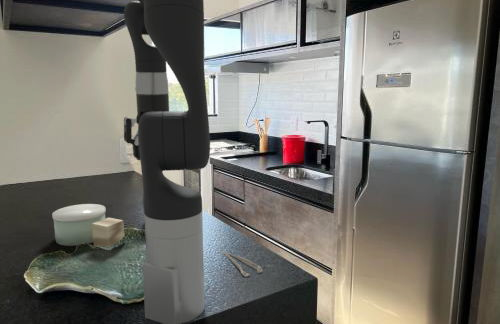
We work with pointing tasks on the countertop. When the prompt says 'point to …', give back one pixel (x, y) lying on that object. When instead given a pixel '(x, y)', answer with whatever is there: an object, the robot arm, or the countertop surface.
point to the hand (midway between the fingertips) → (155, 157)
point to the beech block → (107, 232)
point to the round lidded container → (76, 223)
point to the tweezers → (243, 262)
